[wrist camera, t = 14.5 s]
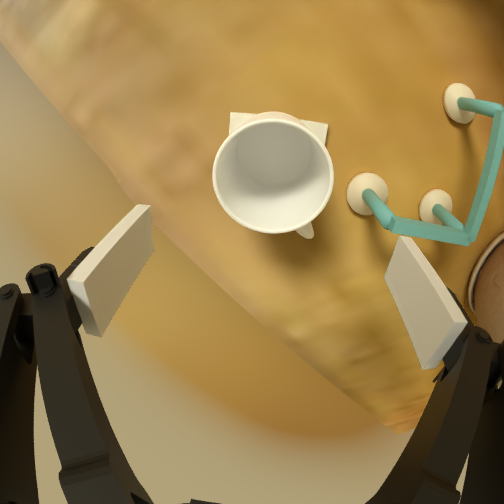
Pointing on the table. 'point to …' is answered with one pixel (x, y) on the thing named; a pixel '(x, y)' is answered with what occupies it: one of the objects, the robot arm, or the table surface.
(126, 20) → the table surface
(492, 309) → the potted plant
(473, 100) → the wire course
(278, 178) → the mug
